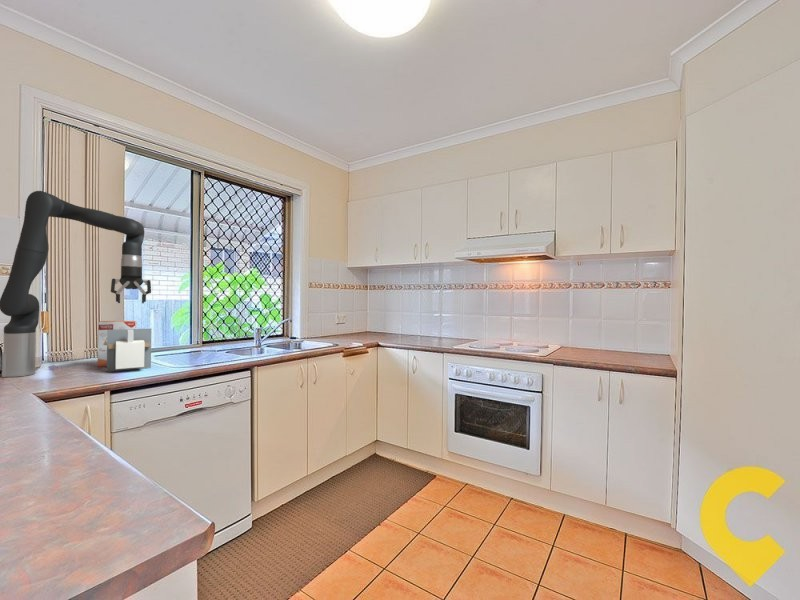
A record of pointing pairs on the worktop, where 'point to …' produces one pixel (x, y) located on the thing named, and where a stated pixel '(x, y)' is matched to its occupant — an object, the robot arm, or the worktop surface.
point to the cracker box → (103, 337)
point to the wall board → (122, 335)
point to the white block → (129, 352)
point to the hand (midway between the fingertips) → (131, 303)
